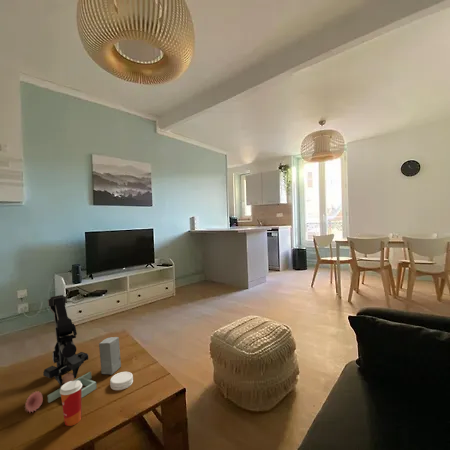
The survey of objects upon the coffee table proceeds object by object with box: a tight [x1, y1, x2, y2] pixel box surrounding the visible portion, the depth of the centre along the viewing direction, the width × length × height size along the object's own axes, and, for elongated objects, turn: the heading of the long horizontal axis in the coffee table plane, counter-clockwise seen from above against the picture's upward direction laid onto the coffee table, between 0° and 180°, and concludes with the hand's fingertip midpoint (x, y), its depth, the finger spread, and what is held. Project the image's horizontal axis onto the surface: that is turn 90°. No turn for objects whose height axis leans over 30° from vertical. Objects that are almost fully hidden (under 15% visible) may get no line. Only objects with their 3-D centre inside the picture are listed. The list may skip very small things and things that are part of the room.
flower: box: [24, 390, 44, 414], centre depth 114 cm, size 8×8×6 cm
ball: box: [62, 372, 75, 385], centre depth 131 cm, size 5×5×5 cm
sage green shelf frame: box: [47, 371, 97, 403], centre depth 124 cm, size 11×20×3 cm, turn 151°
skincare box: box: [98, 336, 122, 376], centre depth 141 cm, size 8×7×16 cm
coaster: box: [109, 371, 134, 391], centre depth 129 cm, size 10×10×4 cm
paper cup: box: [60, 379, 83, 427], centre depth 106 cm, size 8×8×14 cm
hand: (68, 381), depth 131 cm, fingers open, 6 cm apart
